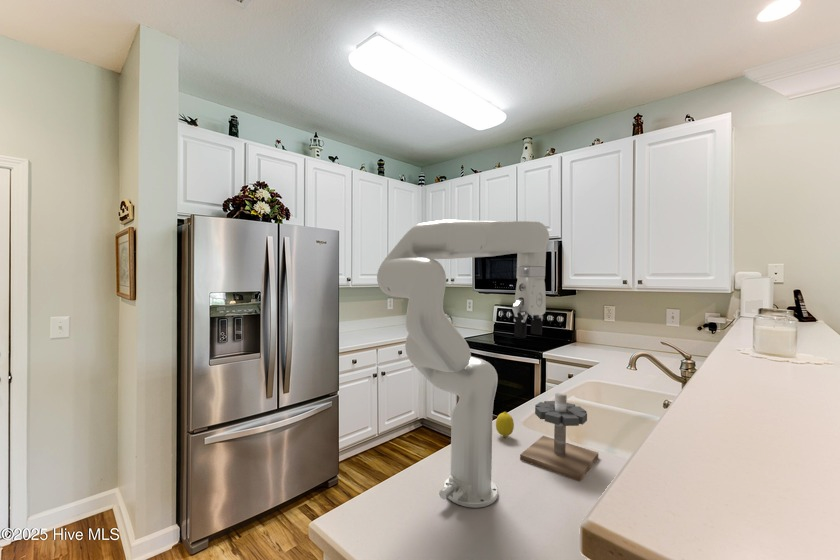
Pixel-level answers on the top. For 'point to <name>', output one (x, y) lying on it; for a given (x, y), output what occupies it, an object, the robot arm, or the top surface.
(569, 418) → the grey flat ring
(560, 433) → the pipe stand
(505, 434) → the lemon
